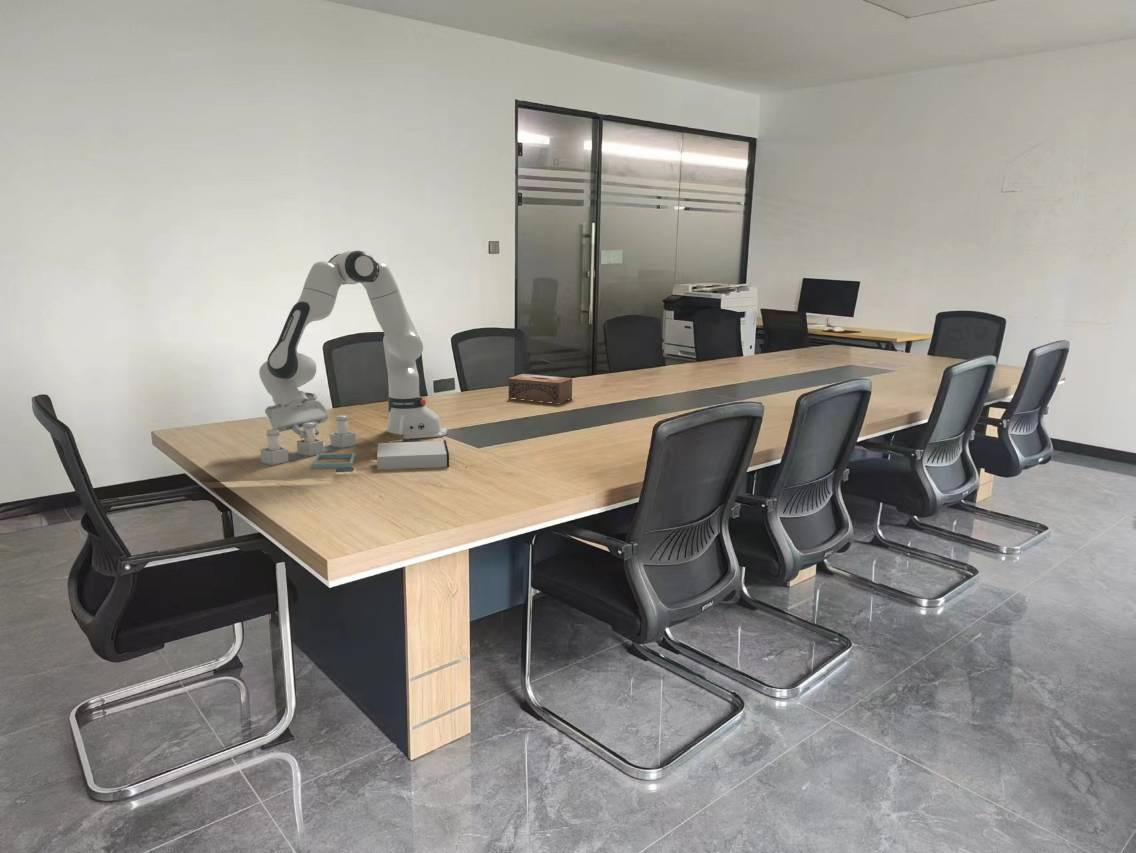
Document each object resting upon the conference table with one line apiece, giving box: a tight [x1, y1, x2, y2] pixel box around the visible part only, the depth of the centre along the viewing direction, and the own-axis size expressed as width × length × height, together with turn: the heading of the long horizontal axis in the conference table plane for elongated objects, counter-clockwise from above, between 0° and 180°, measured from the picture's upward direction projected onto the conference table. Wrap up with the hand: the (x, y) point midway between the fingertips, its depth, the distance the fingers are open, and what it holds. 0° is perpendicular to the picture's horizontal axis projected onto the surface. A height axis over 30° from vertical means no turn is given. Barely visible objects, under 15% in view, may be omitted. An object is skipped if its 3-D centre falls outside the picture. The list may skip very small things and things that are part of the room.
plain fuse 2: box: [335, 414, 349, 436], centre depth 268 cm, size 4×4×10 cm
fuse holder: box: [257, 430, 359, 467], centre depth 258 cm, size 7×35×6 cm, turn 145°
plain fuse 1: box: [266, 428, 281, 452], centre depth 246 cm, size 4×4×10 cm
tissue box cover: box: [508, 373, 573, 404], centre depth 361 cm, size 26×14×10 cm, turn 66°
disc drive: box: [376, 439, 450, 471], centre depth 256 cm, size 18×22×5 cm
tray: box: [311, 452, 356, 473], centre depth 247 cm, size 12×12×3 cm
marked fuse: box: [302, 422, 317, 444], centre depth 257 cm, size 4×4×10 cm
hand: (310, 435), depth 256 cm, fingers closed on marked fuse, 4 cm apart
